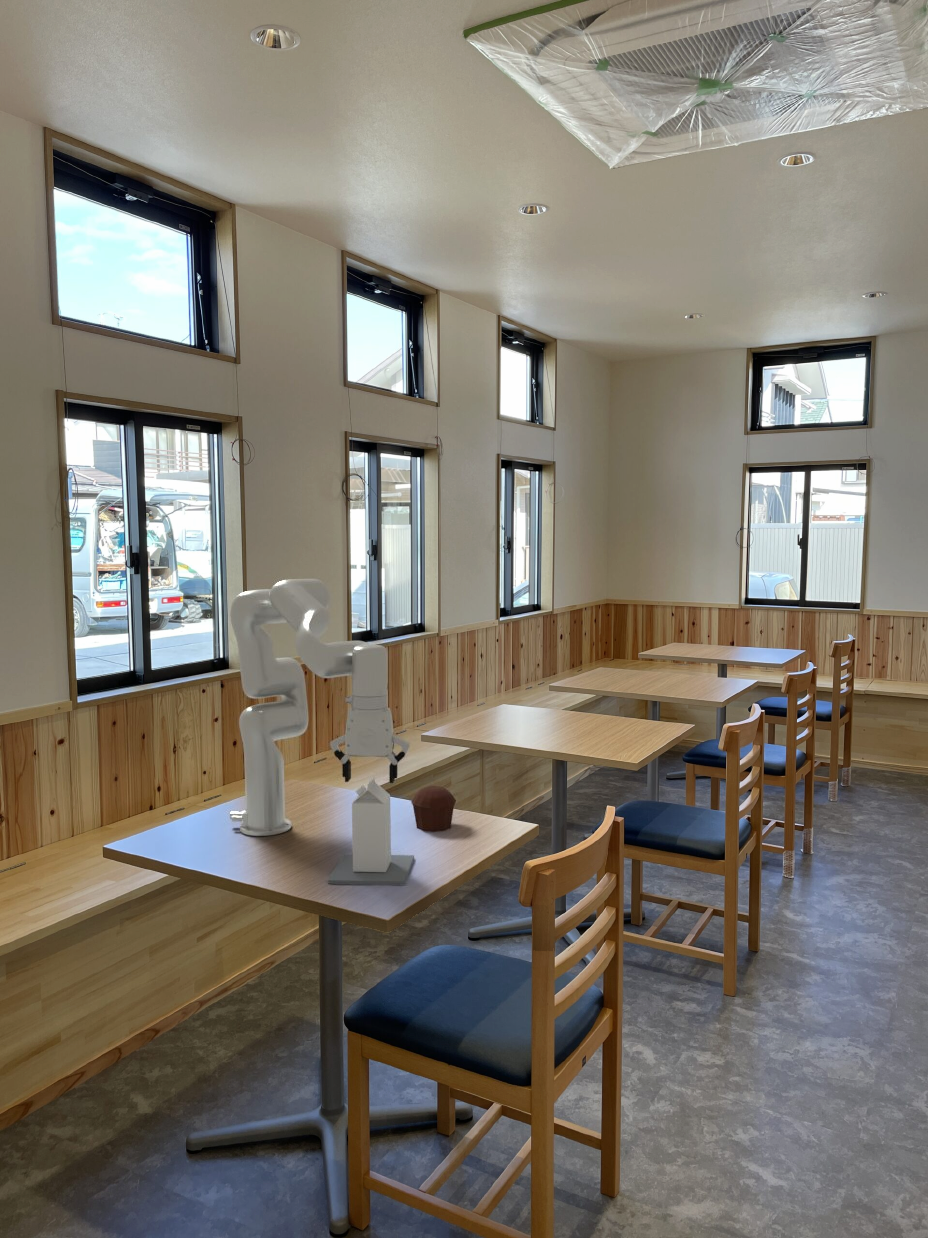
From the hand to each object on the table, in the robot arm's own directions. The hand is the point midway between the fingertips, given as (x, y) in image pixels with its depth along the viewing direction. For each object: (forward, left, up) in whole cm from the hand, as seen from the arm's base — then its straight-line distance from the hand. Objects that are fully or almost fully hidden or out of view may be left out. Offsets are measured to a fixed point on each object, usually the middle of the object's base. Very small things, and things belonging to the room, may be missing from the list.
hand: (370, 781), depth 191 cm
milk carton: (0, 0, -19) cm, 19 cm away
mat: (0, 0, -20) cm, 20 cm away
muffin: (+10, +32, -20) cm, 39 cm away
